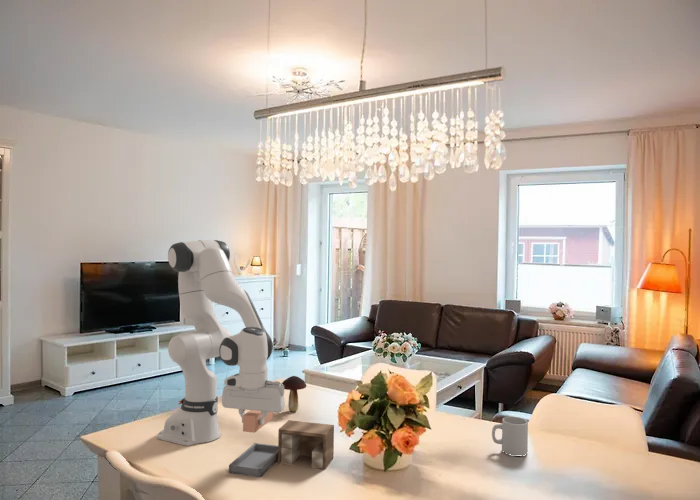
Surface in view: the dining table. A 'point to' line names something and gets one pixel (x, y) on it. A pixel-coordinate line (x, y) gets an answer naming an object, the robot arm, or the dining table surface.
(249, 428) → the block
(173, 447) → the dining table surface
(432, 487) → the dining table surface
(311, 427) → the shelf
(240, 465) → the tray
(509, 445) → the mug
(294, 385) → the decorative mushroom
